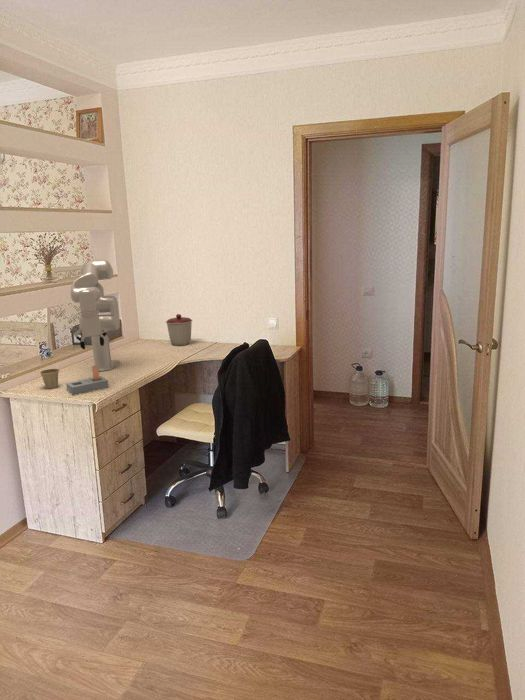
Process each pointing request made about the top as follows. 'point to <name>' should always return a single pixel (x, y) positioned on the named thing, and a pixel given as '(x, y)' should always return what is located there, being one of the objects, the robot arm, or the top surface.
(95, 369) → the peg
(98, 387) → the socket block
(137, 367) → the top surface
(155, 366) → the top surface
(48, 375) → the flower pot
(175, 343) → the canister
